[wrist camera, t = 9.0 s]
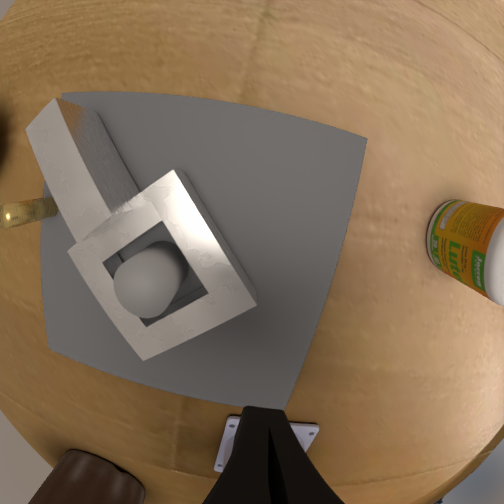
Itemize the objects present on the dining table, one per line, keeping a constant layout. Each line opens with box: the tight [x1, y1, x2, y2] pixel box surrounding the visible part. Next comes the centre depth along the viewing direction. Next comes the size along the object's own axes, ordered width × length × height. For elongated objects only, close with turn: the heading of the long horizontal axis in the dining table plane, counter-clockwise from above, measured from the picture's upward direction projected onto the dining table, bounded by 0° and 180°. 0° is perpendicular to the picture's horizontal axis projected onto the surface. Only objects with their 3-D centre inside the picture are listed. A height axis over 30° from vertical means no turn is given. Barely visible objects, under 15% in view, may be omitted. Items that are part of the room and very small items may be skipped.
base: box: [41, 92, 367, 411], centre depth 15 cm, size 20×20×5 cm
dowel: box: [0, 196, 59, 230], centre depth 13 cm, size 1×1×5 cm
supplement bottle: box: [427, 200, 504, 306], centre depth 12 cm, size 5×5×10 cm
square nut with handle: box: [26, 97, 257, 361], centre depth 13 cm, size 14×8×4 cm, turn 30°
